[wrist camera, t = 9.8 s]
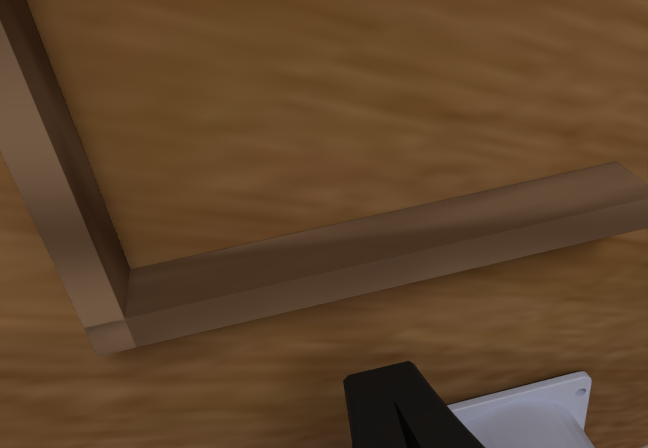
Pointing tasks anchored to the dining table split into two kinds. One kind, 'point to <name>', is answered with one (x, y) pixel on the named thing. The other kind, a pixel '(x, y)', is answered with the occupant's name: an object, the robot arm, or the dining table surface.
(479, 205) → the walnut bay
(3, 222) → the dining table surface
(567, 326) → the dining table surface
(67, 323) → the dining table surface
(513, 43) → the dining table surface
